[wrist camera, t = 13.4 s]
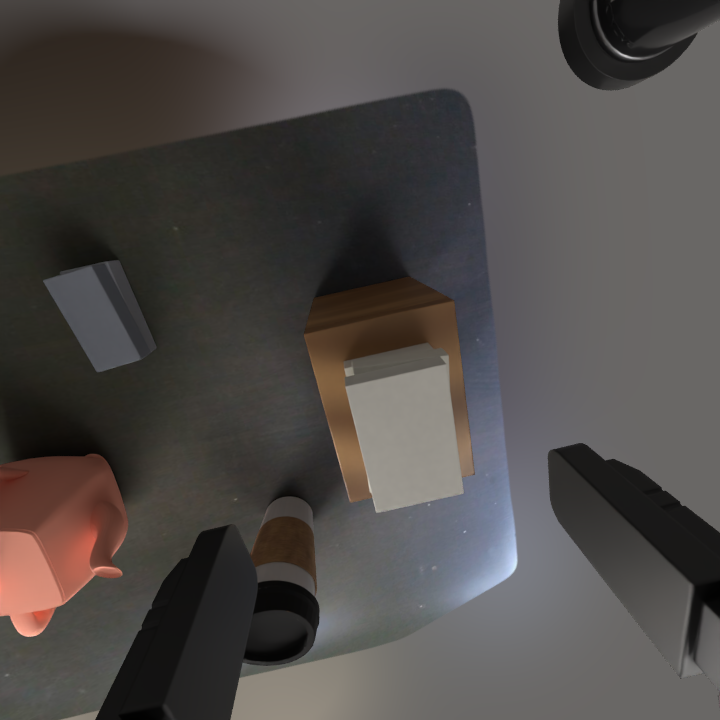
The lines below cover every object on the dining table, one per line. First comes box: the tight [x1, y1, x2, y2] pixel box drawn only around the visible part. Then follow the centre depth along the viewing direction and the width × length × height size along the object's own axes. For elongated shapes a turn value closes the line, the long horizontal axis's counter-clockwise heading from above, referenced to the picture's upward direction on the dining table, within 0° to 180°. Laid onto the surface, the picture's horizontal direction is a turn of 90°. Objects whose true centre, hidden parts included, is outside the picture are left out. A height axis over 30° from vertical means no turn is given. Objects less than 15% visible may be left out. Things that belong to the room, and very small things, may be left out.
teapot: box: [0, 454, 128, 637], centre depth 35 cm, size 17×16×13 cm
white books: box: [344, 343, 450, 493], centre depth 24 cm, size 10×7×3 cm
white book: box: [345, 356, 464, 513], centre depth 22 cm, size 9×6×1 cm, turn 12°
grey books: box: [43, 260, 157, 372], centre depth 33 cm, size 9×5×4 cm, turn 12°
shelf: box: [304, 276, 475, 502], centre depth 32 cm, size 14×10×14 cm
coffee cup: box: [243, 496, 319, 666], centre depth 38 cm, size 8×8×15 cm
